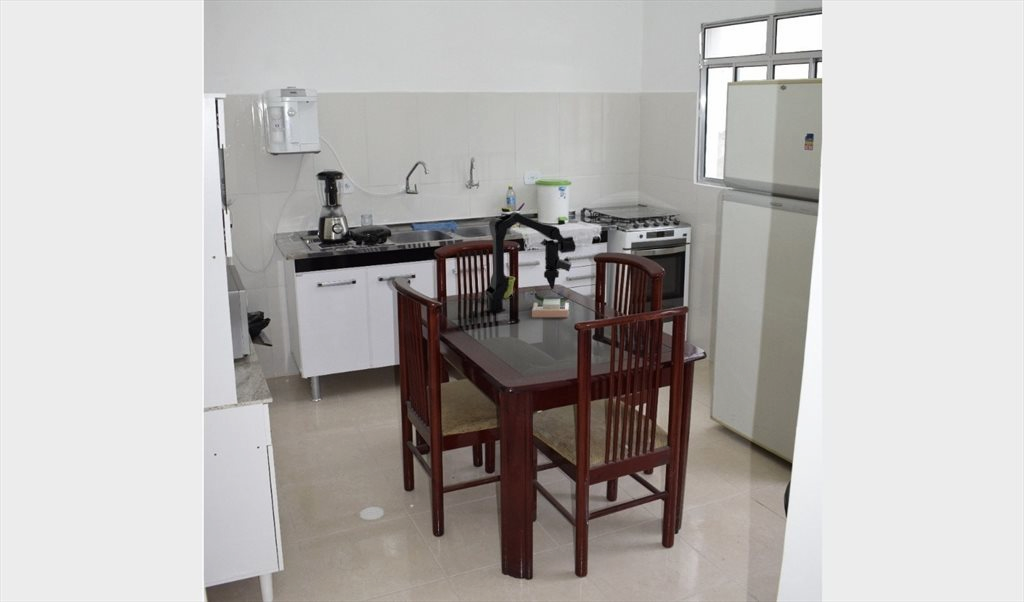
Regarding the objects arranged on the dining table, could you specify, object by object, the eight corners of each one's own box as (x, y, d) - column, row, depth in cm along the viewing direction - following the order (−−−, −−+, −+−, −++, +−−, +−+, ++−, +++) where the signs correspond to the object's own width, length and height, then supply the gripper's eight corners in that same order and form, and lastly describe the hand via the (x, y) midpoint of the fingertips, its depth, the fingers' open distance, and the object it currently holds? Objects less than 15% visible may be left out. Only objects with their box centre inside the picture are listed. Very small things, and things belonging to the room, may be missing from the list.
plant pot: (515, 299, 357) (515, 280, 354) (494, 299, 357) (494, 281, 355) (515, 293, 366) (515, 275, 363) (495, 294, 366) (494, 276, 364)
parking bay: (534, 307, 343) (534, 300, 342) (568, 307, 341) (568, 300, 341) (532, 317, 328) (531, 310, 327) (568, 317, 327) (567, 310, 326)
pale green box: (544, 307, 342) (543, 295, 340) (560, 307, 341) (560, 295, 340) (543, 313, 332) (542, 301, 331) (559, 313, 332) (559, 301, 330)
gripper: (569, 258, 333) (570, 294, 338) (570, 249, 351) (571, 283, 355) (543, 258, 334) (544, 294, 339) (545, 249, 352) (546, 283, 356)
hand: (552, 288), depth 347 cm, fingers closed
